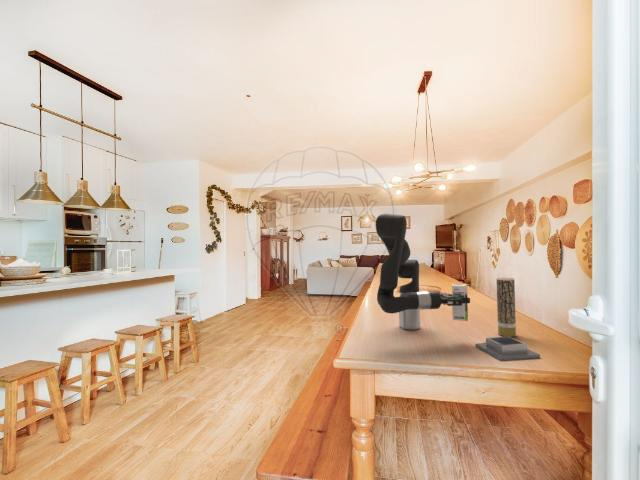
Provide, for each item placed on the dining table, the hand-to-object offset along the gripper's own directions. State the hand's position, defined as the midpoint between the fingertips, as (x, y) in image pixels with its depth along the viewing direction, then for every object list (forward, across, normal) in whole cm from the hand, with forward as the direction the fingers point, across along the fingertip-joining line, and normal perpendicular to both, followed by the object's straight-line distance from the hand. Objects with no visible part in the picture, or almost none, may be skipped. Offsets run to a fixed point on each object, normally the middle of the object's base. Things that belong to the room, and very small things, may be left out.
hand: (464, 298), depth 133 cm
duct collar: (+8, -14, +18) cm, 24 cm away
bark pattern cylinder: (+22, +5, +18) cm, 29 cm away
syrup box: (-2, 0, +9) cm, 9 cm away
